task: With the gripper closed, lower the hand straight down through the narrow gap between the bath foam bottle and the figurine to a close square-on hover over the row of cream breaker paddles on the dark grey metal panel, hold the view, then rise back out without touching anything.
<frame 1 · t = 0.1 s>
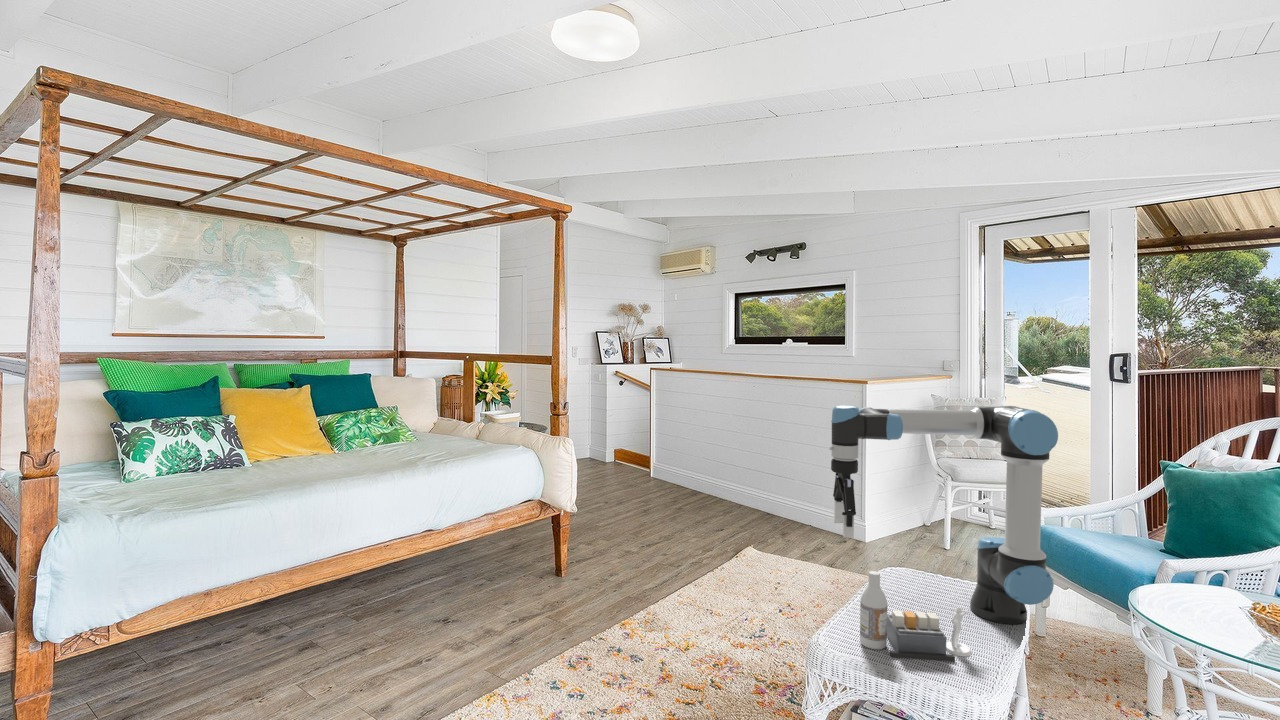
hand: (843, 529, 180), 28 cm above the table, fingers open, 13 cm apart
dark grey slat: (921, 658, 161), on the table
paddle b: (920, 625, 167), point 6 cm above the table, touching breaker panel
paddle a: (932, 626, 166), point 6 cm above the table, touching breaker panel
paddle d: (898, 624, 167), point 6 cm above the table, touching breaker panel
bath foam: (873, 644, 168), on the table
figurine: (957, 650, 166), on the table
paddle c: (909, 624, 167), point 6 cm above the table, touching breaker panel
breaker panel: (914, 646, 167), on the table
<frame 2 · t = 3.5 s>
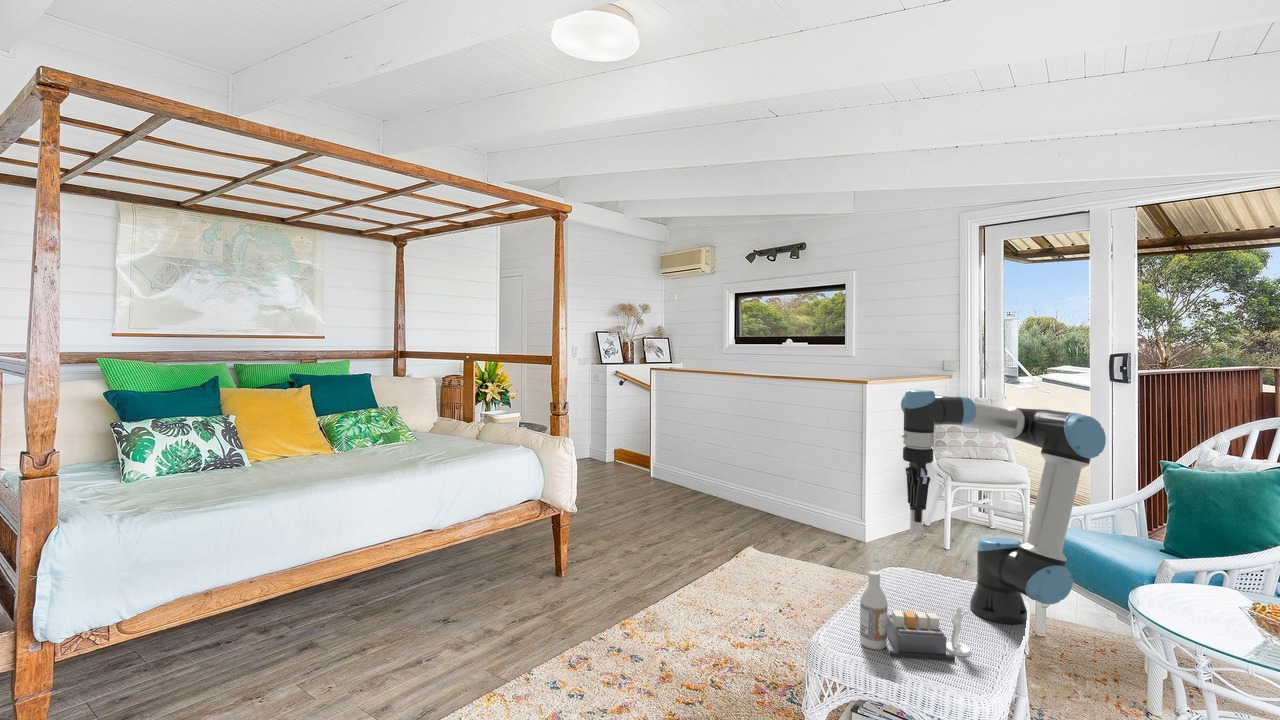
hand: (915, 532, 166), 32 cm above the table, fingers closed
nothing on the table moved.
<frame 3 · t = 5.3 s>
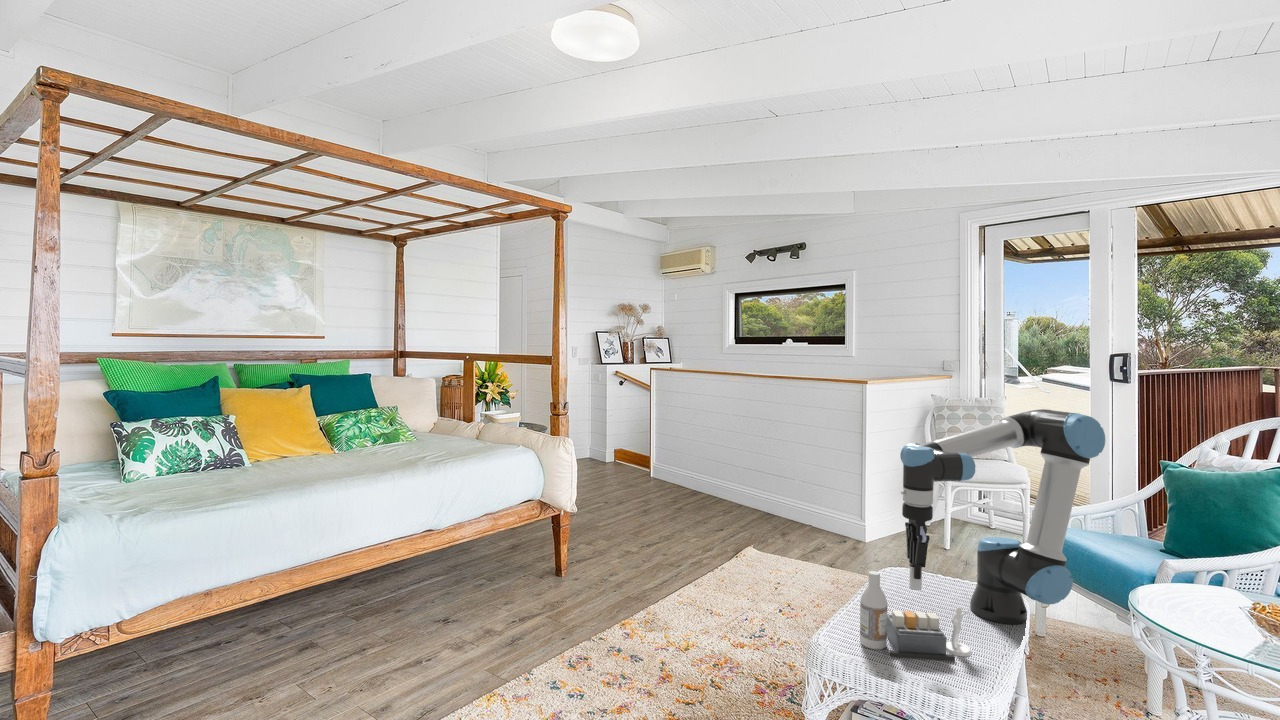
hand: (915, 588, 166), 16 cm above the table, fingers closed
nothing on the table moved.
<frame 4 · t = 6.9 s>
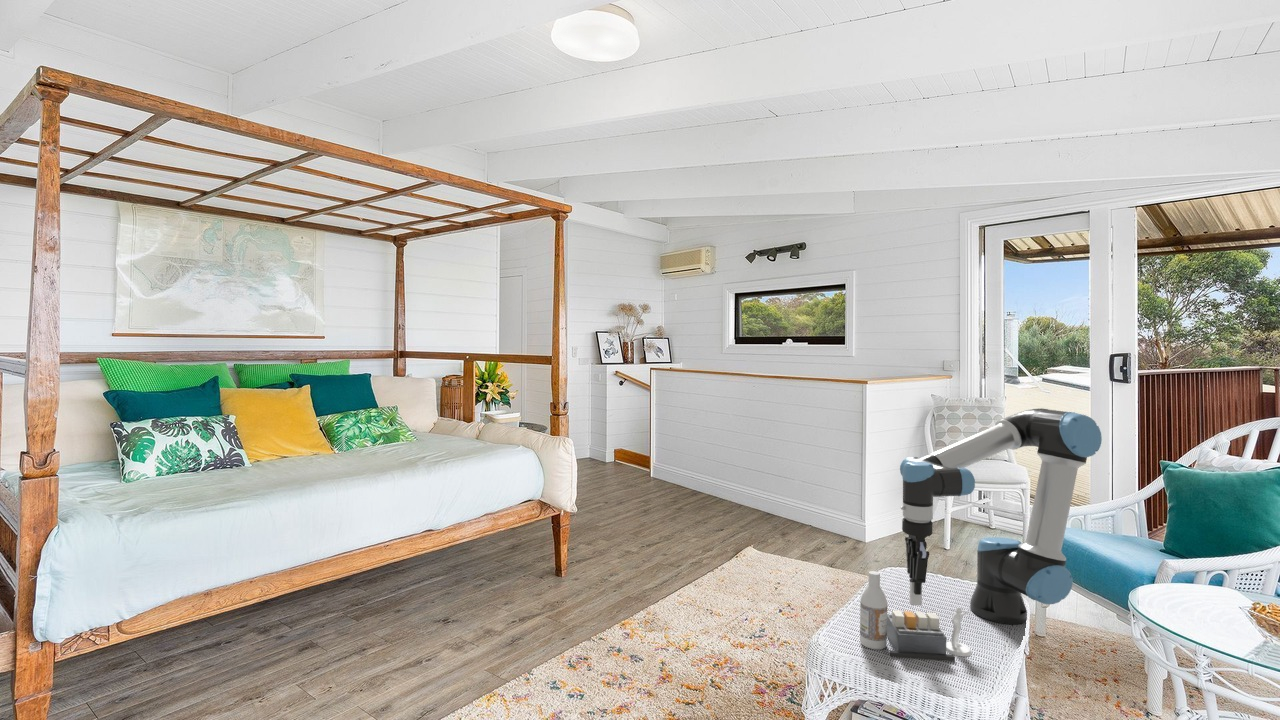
hand: (915, 604, 167), 12 cm above the table, fingers closed
nothing on the table moved.
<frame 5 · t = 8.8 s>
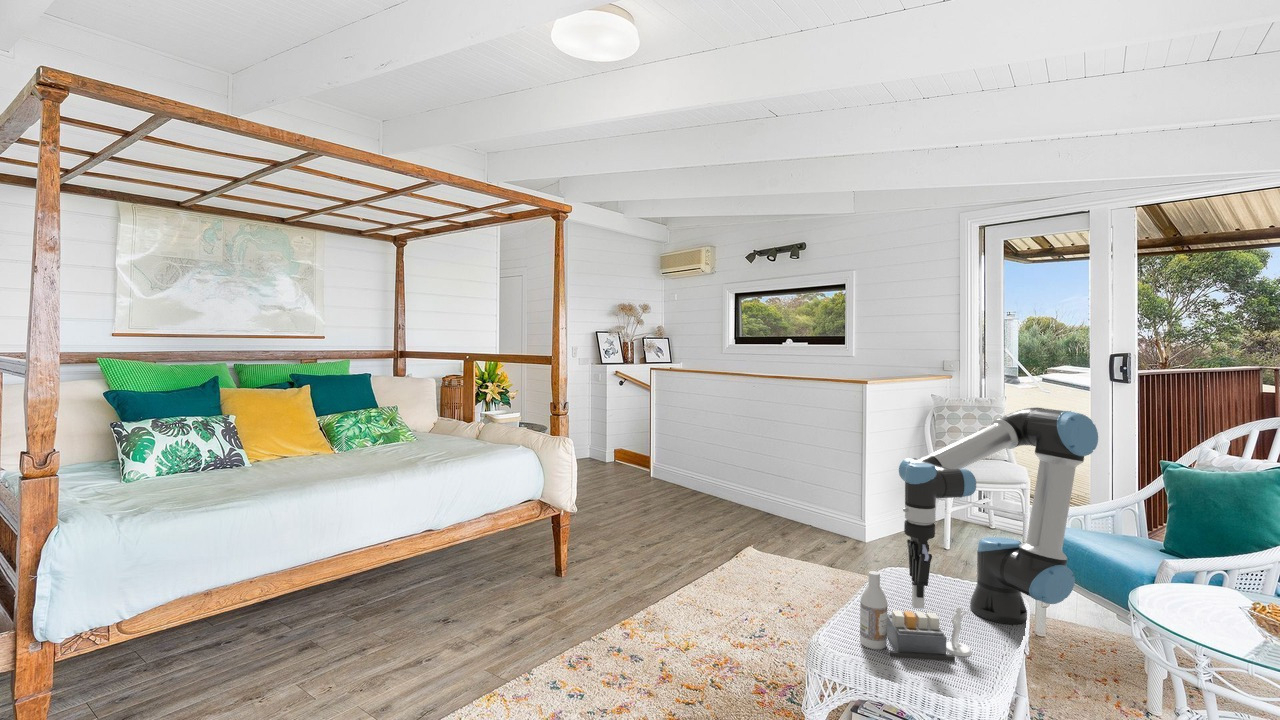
hand: (918, 607, 165), 12 cm above the table, fingers closed
nothing on the table moved.
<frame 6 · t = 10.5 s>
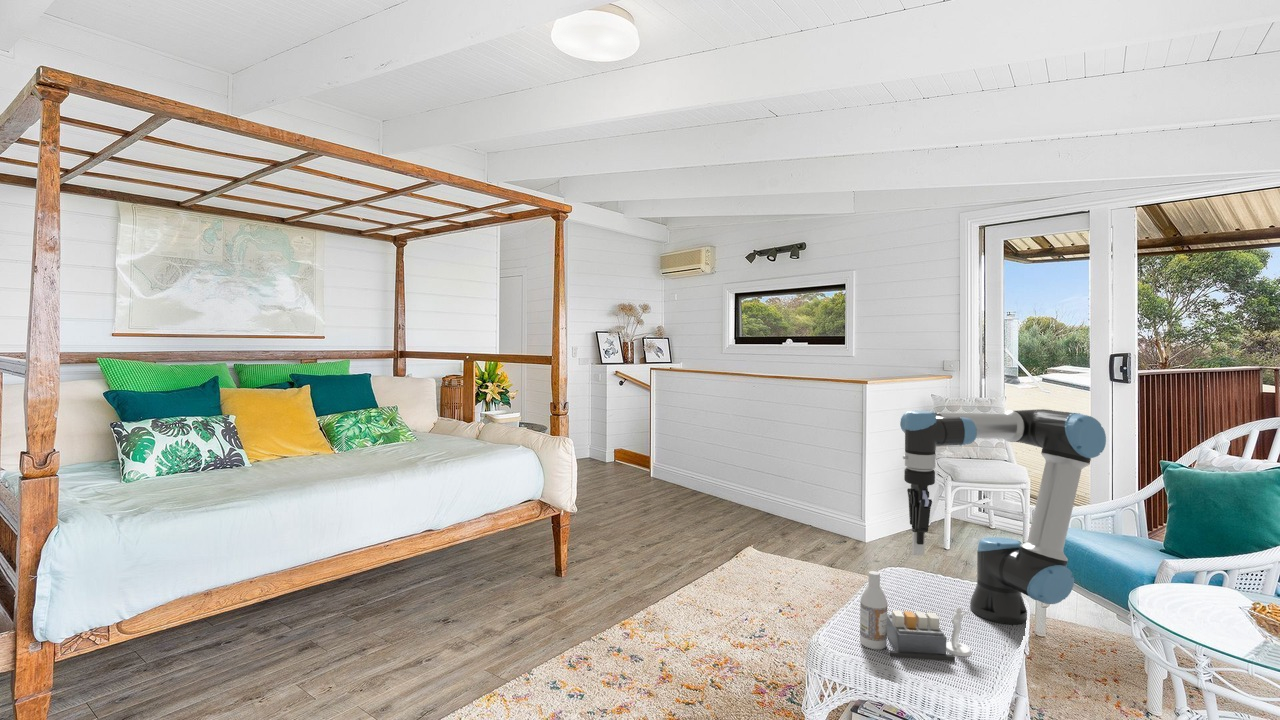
hand: (918, 554, 165), 26 cm above the table, fingers closed
nothing on the table moved.
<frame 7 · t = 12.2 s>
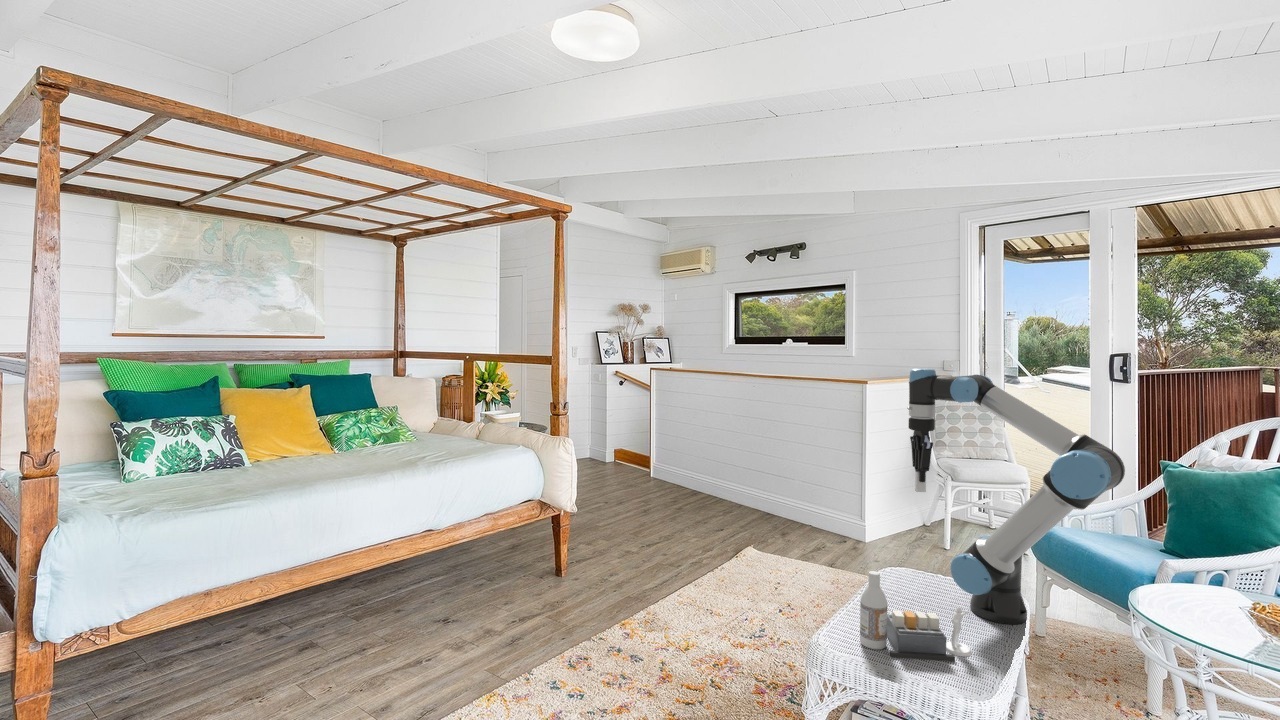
hand: (920, 491, 193), 36 cm above the table, fingers closed
nothing on the table moved.
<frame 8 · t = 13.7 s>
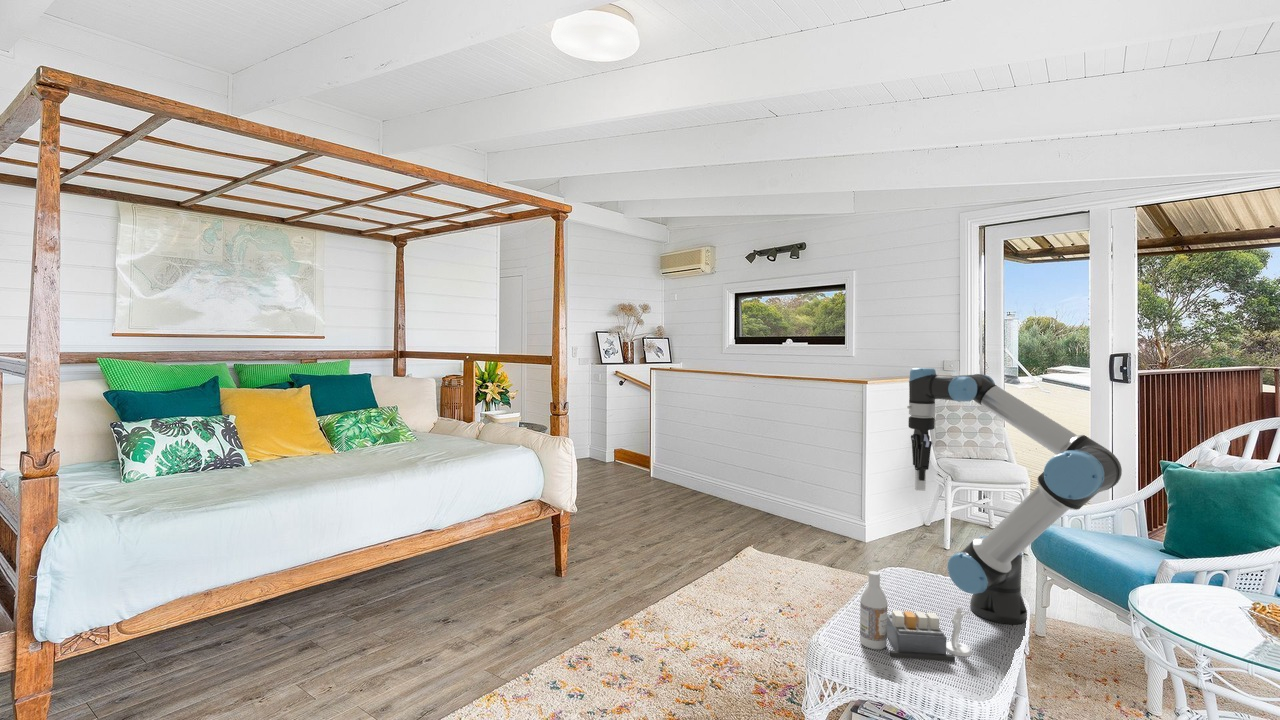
hand: (920, 489, 194), 36 cm above the table, fingers closed
nothing on the table moved.
at the end: paddle b moved 0.0 cm from its start; bath foam moved 0.2 cm from its start; figurine moved 0.2 cm from its start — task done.
